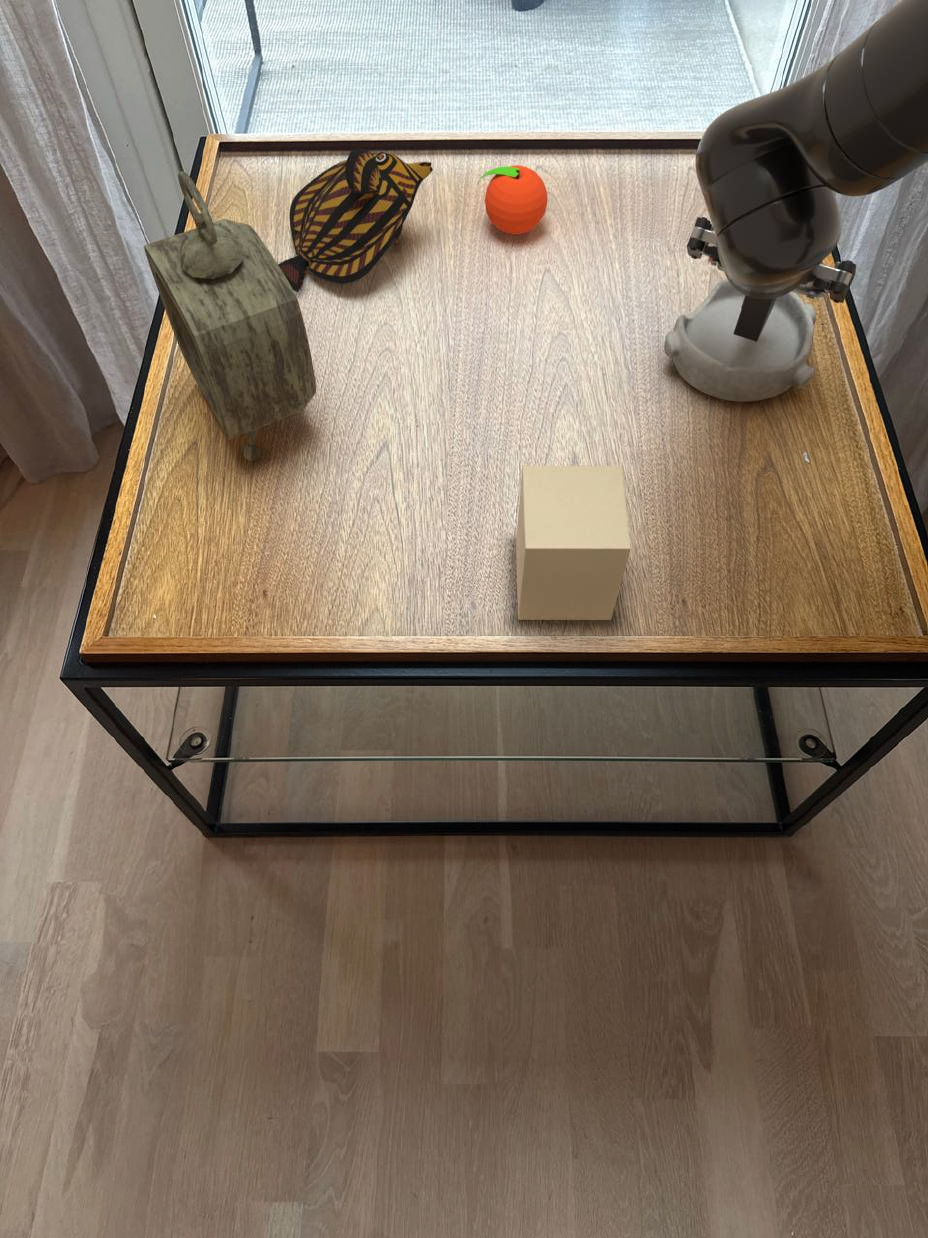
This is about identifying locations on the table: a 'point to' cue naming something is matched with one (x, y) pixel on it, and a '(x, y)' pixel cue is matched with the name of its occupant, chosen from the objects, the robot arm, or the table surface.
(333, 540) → the table surface
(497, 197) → the clementine
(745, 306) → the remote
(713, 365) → the dish
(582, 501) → the stand
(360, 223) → the decorative fish sculpture
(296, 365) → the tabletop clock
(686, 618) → the table surface
